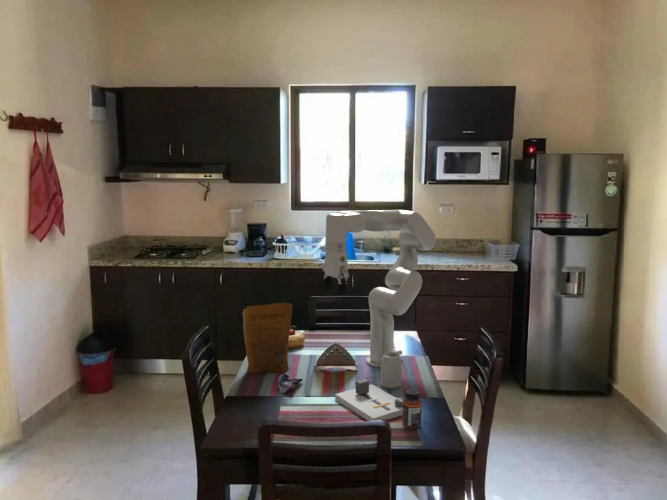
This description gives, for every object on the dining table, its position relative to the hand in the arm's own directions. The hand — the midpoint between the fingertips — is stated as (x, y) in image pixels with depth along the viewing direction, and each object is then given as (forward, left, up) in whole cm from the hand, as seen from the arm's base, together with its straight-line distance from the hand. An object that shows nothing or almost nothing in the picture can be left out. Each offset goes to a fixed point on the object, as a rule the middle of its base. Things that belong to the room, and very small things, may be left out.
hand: (334, 291), depth 212 cm
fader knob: (+3, +22, -31) cm, 39 cm away
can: (-13, +18, -34) cm, 41 cm away
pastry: (-4, -42, -34) cm, 54 cm away
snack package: (+19, -2, -35) cm, 40 cm away
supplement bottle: (+1, +46, -34) cm, 57 cm away
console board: (+3, +28, -34) cm, 44 cm away
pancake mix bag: (+19, -19, -34) cm, 43 cm away
